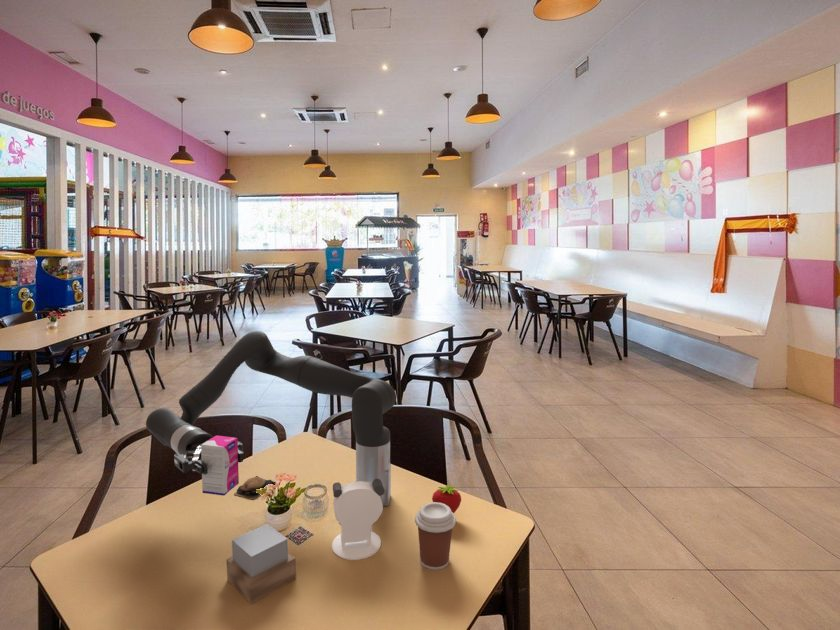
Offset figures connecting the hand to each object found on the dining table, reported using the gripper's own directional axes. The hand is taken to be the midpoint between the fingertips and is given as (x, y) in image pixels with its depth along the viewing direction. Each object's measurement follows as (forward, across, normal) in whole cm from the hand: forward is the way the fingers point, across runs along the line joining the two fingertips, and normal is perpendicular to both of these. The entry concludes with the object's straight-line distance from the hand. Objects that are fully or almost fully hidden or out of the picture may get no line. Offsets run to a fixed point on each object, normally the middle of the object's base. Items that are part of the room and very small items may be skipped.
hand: (224, 463), depth 107 cm
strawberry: (+29, +44, +21) cm, 57 cm away
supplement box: (-2, 0, +7) cm, 7 cm away
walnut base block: (+15, 0, +21) cm, 26 cm away
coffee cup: (+37, +29, +21) cm, 52 cm away
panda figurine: (+20, +21, +21) cm, 36 cm away
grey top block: (+15, 0, +16) cm, 22 cm away
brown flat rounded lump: (-21, +18, +22) cm, 35 cm away
